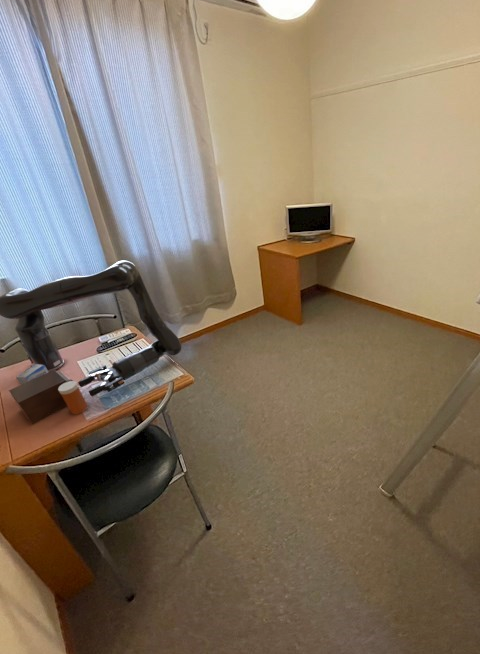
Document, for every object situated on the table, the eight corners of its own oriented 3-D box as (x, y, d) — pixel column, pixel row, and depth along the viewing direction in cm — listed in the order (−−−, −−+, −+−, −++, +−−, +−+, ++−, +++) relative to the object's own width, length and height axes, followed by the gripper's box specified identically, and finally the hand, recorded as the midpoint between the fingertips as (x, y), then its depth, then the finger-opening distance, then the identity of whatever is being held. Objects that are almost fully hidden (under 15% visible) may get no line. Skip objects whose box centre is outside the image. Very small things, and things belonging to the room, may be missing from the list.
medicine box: (36, 396, 119) (25, 377, 115) (26, 395, 120) (15, 376, 116) (54, 383, 126) (44, 364, 122) (45, 382, 127) (34, 363, 122)
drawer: (71, 384, 123) (63, 368, 119) (82, 394, 117) (73, 377, 114) (29, 405, 114) (18, 389, 110) (38, 416, 108) (27, 400, 105)
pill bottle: (68, 410, 112) (55, 387, 107) (84, 401, 115) (72, 379, 110) (74, 416, 109) (61, 393, 104) (90, 407, 112) (79, 384, 107)
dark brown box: (65, 389, 122) (54, 369, 117) (76, 400, 116) (65, 379, 111) (22, 410, 113) (8, 390, 108) (32, 424, 107) (18, 402, 102)
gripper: (117, 351, 124) (71, 373, 114) (136, 363, 116) (89, 388, 106) (124, 367, 128) (80, 390, 117) (143, 380, 120) (97, 405, 109)
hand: (84, 389), depth 111 cm, fingers open, 8 cm apart
